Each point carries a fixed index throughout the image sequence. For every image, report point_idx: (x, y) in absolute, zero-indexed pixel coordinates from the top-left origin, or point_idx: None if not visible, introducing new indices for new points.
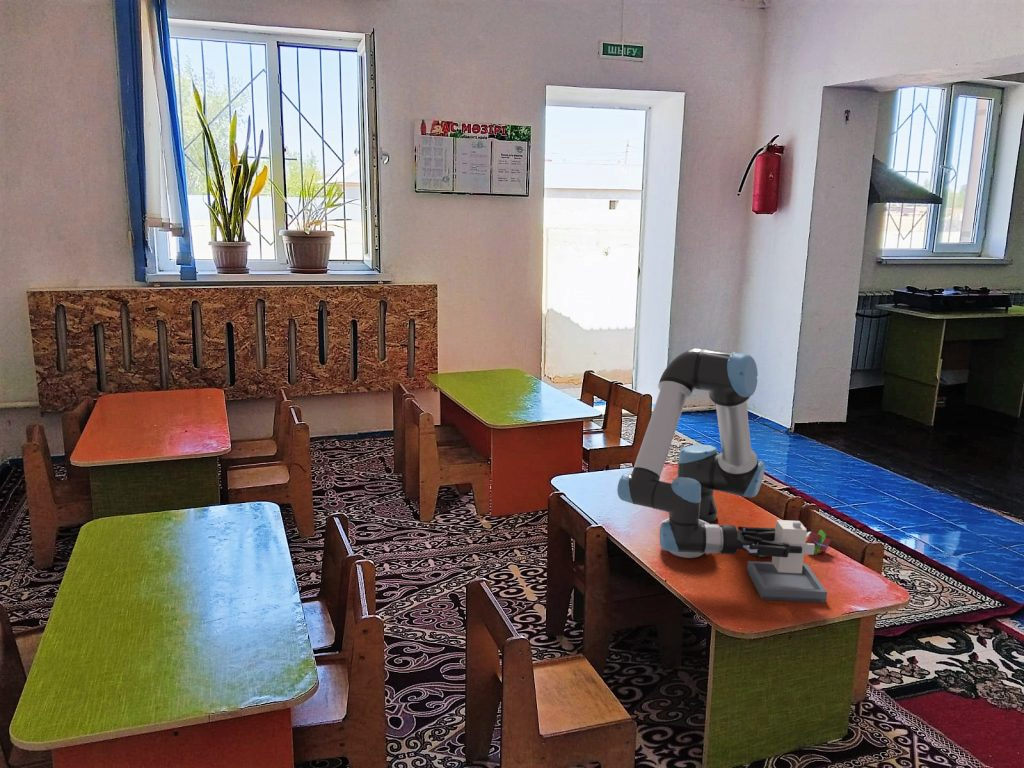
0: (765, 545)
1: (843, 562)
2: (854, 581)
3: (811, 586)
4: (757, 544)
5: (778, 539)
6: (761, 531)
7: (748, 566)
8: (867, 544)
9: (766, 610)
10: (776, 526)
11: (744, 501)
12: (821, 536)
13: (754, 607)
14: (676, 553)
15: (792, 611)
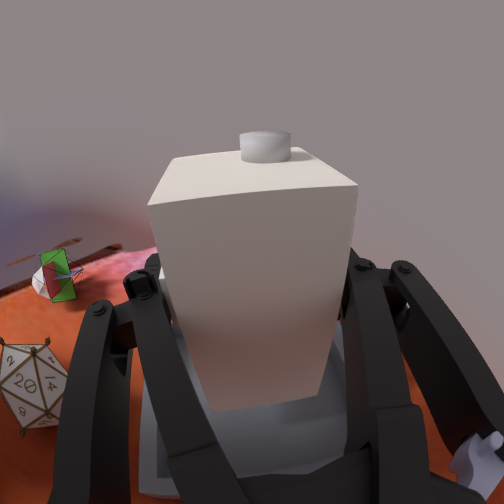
0: (465, 364)
1: (115, 268)
2: None
3: None
4: (41, 412)
5: (270, 304)
6: (106, 392)
7: (162, 496)
8: (71, 239)
9: (439, 436)
10: (178, 253)
11: None
12: (55, 262)
13: (439, 467)
14: None
15: (409, 380)
